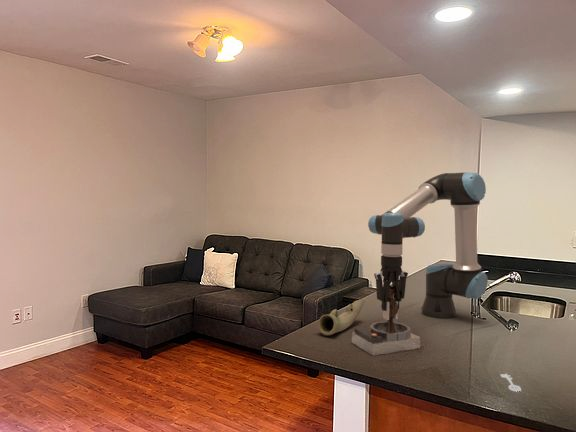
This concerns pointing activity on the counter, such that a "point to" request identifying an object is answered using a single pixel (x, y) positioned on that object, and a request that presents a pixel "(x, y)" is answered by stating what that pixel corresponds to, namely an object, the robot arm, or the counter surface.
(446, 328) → the counter surface
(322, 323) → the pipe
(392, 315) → the figurine
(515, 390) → the key
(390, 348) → the white flat device
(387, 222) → the robot arm
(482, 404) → the counter surface
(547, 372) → the counter surface
